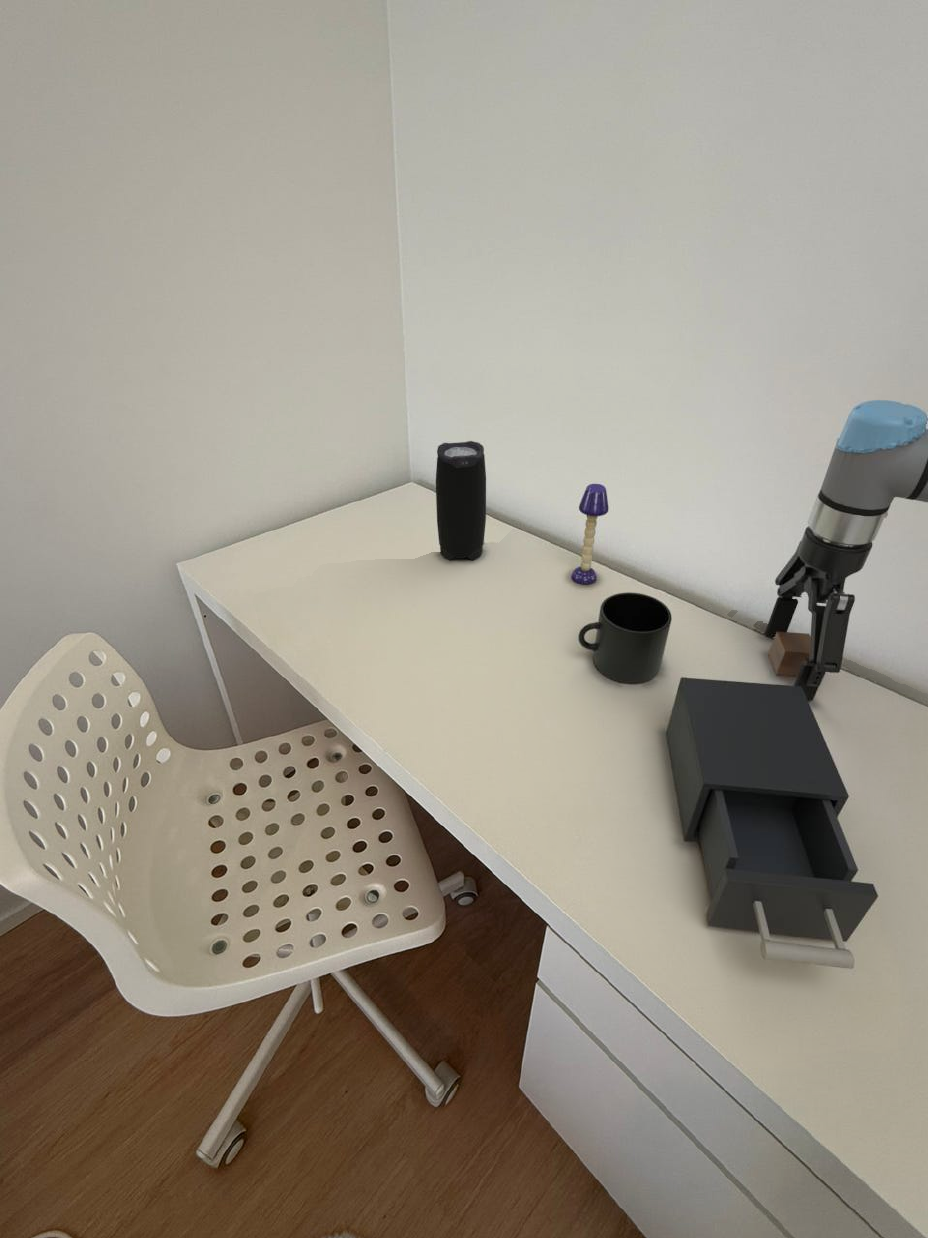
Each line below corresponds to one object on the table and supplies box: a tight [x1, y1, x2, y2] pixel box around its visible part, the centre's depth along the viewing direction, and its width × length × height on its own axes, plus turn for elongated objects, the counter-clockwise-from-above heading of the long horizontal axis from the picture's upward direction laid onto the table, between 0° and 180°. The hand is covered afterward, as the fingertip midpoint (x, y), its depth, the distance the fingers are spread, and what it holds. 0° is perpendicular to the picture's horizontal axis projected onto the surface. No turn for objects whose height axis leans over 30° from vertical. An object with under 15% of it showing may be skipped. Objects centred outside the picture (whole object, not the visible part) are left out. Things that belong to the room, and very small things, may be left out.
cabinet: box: [665, 676, 850, 843], centre depth 72 cm, size 16×14×10 cm
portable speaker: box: [435, 440, 487, 561], centre depth 112 cm, size 9×9×20 cm
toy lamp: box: [571, 483, 609, 585], centre depth 105 cm, size 5×5×17 cm
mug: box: [577, 591, 673, 685], centre depth 90 cm, size 9×12×9 cm
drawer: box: [697, 789, 879, 970], centre depth 62 cm, size 19×12×8 cm, turn 173°
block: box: [767, 631, 811, 678], centre depth 90 cm, size 4×4×4 cm
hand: (787, 665), depth 92 cm, fingers open, 13 cm apart
